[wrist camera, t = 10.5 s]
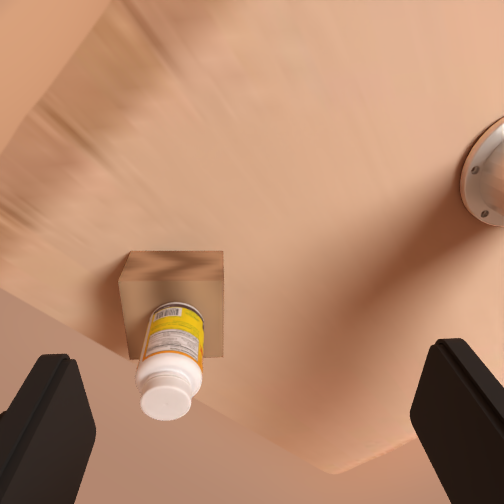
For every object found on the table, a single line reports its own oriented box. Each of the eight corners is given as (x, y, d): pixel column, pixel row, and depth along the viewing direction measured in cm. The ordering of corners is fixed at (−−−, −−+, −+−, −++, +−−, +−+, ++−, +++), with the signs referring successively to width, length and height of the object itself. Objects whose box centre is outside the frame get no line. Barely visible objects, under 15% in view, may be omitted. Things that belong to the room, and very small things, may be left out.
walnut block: (223, 251, 41) (223, 280, 36) (222, 322, 46) (223, 357, 41) (130, 251, 41) (117, 281, 35) (140, 323, 45) (129, 359, 40)
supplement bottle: (183, 350, 40) (173, 436, 31) (139, 325, 38) (114, 411, 29) (216, 316, 38) (215, 399, 29) (170, 289, 36) (155, 368, 27)
